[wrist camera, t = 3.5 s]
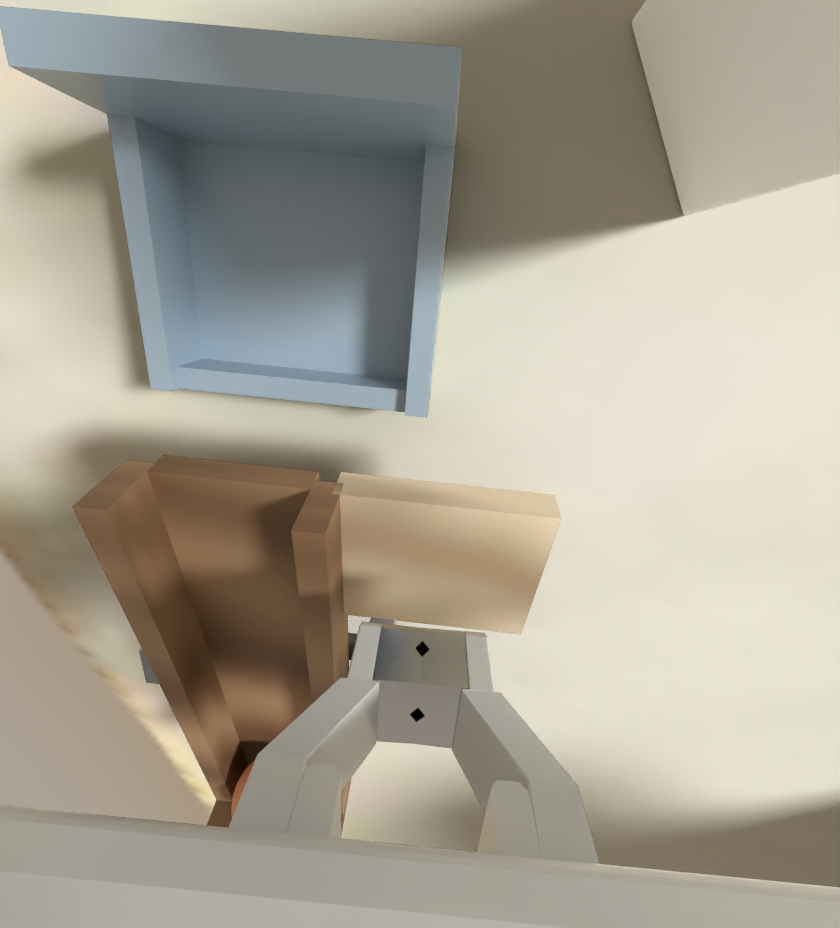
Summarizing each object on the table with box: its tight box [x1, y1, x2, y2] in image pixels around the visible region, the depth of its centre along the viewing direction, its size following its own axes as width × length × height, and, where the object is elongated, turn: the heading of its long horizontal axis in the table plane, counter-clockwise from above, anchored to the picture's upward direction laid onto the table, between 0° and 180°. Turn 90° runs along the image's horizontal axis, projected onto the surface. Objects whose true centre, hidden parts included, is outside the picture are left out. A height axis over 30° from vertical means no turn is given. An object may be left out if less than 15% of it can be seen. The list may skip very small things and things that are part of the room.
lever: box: [73, 455, 561, 834], centre depth 16 cm, size 19×12×4 cm, turn 175°
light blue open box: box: [0, 6, 463, 418], centre depth 14 cm, size 10×9×6 cm
